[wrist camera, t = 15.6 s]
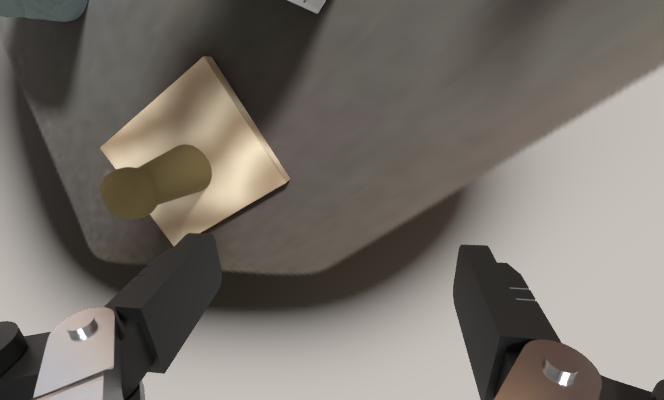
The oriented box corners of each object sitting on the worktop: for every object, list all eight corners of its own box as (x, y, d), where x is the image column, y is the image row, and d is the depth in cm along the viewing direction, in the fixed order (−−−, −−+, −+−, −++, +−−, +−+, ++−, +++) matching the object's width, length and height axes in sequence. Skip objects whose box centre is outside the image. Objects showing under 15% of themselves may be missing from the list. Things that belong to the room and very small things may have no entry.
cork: (169, 138, 41) (86, 160, 31) (214, 152, 40) (143, 180, 30) (167, 183, 43) (90, 217, 33) (209, 198, 42) (143, 237, 32)
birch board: (109, 145, 45) (100, 147, 44) (211, 56, 37) (203, 56, 36) (181, 242, 48) (174, 247, 46) (290, 179, 40) (285, 182, 39)
